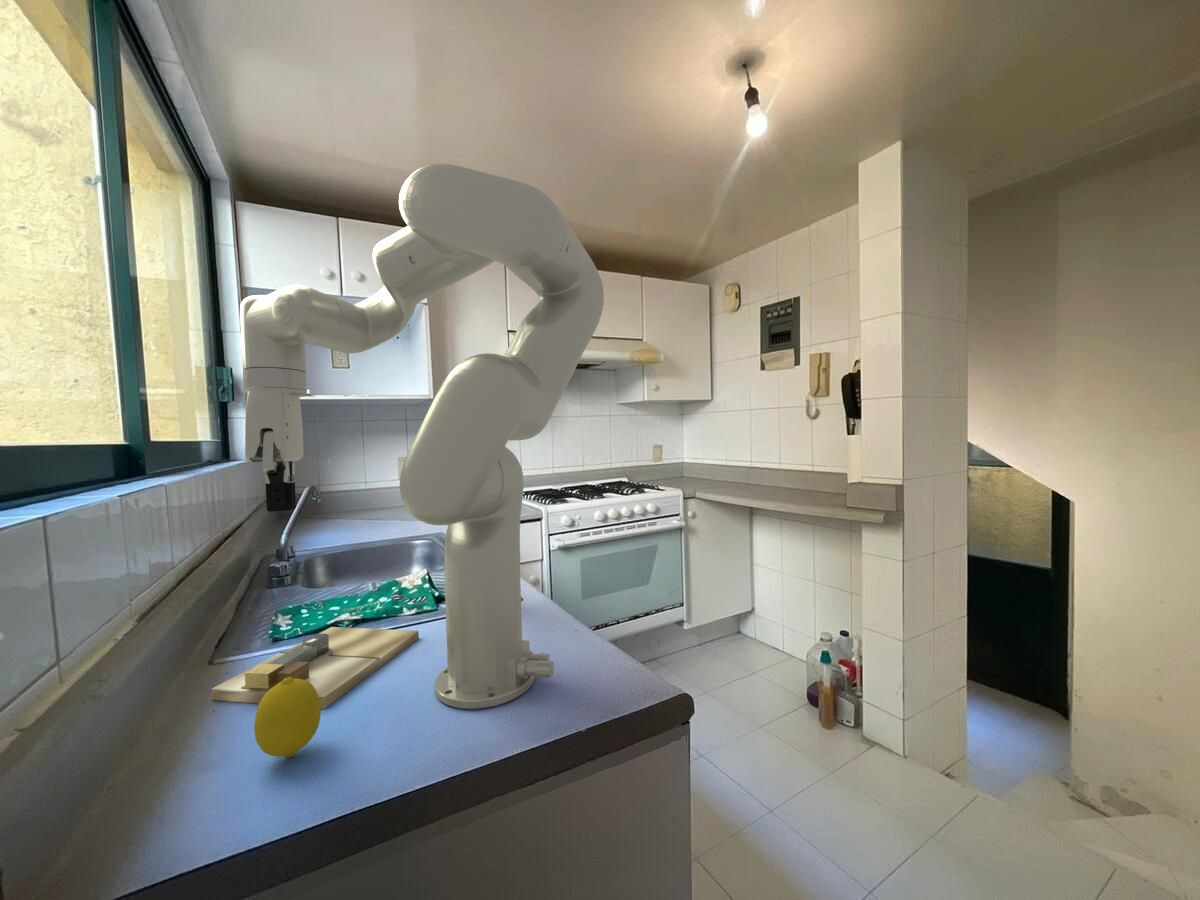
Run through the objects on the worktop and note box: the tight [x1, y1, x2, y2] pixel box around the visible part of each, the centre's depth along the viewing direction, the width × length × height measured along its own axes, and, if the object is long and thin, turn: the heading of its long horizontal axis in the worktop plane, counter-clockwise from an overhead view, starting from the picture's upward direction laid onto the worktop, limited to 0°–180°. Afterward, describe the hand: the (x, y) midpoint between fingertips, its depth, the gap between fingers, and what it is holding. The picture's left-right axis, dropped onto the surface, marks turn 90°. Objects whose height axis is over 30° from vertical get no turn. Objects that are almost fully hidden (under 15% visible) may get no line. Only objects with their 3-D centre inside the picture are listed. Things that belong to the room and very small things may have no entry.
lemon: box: [253, 677, 322, 759], centre depth 46 cm, size 6×6×8 cm
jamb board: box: [211, 626, 420, 710], centre depth 65 cm, size 16×20×3 cm
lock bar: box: [245, 633, 329, 688], centre depth 62 cm, size 11×3×2 cm, turn 173°
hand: (281, 510), depth 66 cm, fingers closed
